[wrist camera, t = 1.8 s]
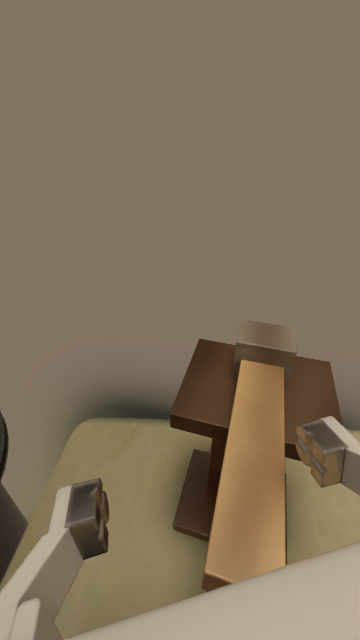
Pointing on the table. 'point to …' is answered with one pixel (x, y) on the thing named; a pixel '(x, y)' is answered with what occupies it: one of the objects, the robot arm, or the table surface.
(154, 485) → the table surface
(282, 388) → the beech bar
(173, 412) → the wooden pedestal stand
